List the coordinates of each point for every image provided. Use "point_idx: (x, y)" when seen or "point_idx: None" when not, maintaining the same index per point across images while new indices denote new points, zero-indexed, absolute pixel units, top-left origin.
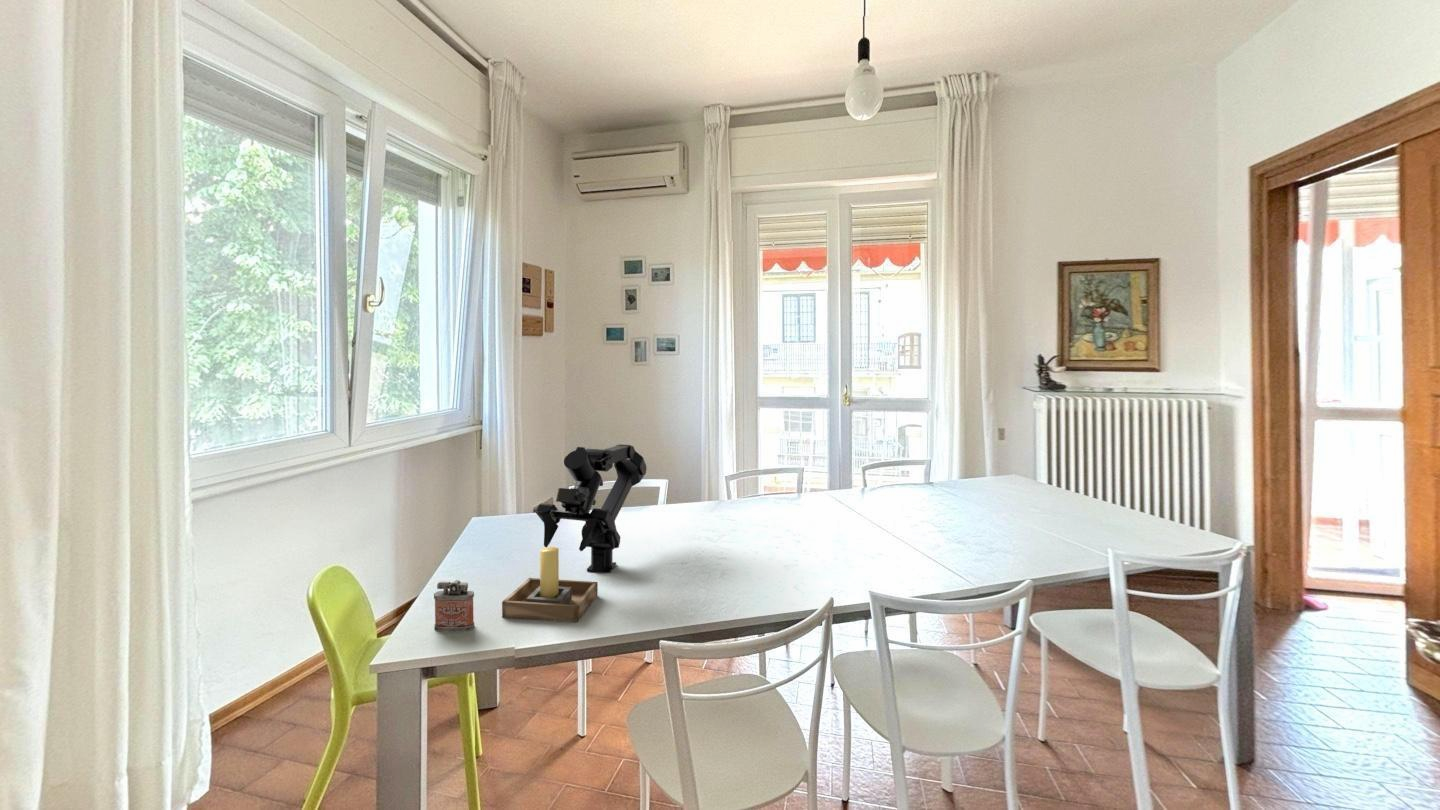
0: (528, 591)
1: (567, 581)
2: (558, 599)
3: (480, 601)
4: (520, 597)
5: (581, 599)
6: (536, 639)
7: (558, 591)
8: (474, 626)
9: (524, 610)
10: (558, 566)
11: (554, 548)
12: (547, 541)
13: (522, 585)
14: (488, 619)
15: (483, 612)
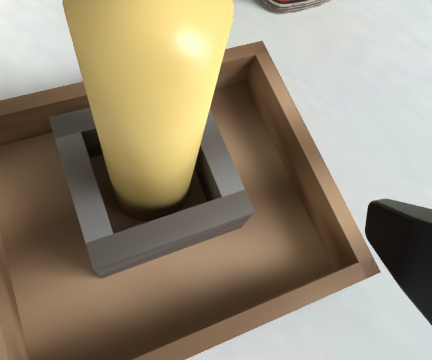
0: (323, 242)
1: (180, 339)
2: (60, 124)
3: (408, 134)
4: (292, 170)
5: None
6: (38, 11)
7: (113, 184)
8: (265, 7)
9: None
10: (98, 121)
11: (129, 37)
12: (398, 233)
13: (328, 186)
14: (273, 53)
15: (327, 81)
